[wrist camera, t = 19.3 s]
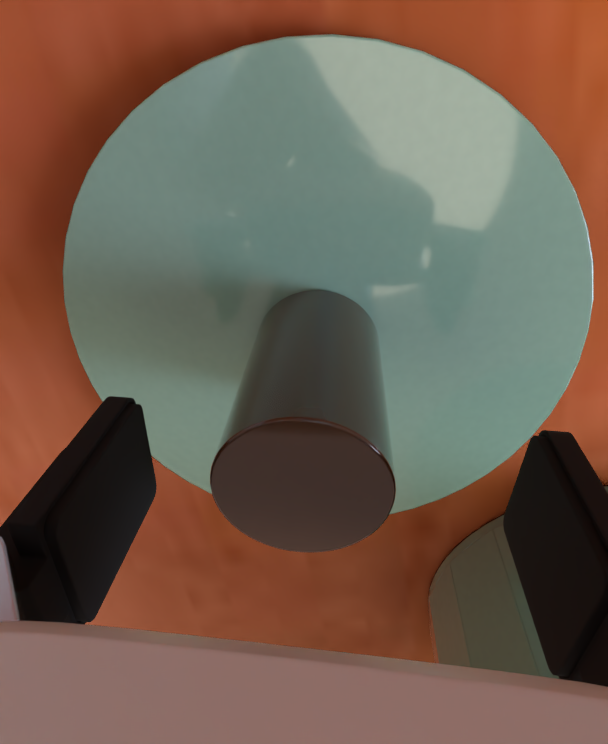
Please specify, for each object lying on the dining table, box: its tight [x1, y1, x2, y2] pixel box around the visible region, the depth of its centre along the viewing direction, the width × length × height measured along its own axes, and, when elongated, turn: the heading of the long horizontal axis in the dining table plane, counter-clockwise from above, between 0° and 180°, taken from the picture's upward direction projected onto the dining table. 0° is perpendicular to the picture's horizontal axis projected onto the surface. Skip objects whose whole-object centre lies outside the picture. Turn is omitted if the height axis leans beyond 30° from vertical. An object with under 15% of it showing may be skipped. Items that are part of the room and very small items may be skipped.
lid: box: [63, 34, 593, 553], centre depth 13 cm, size 17×17×8 cm
